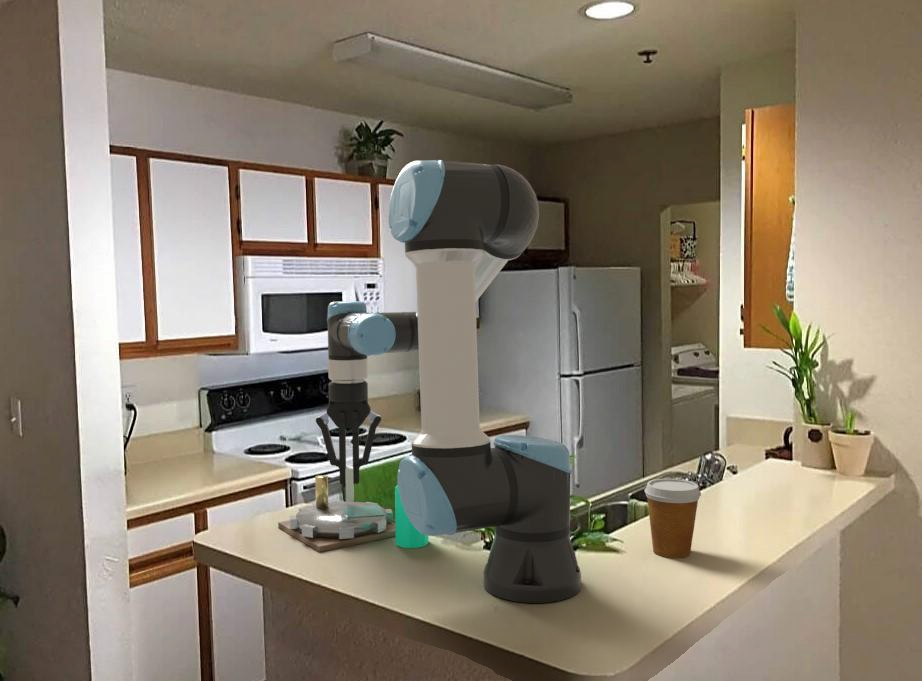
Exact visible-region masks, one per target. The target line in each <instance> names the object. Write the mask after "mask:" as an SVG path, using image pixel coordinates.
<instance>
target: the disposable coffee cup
mask: <svg viewBox="0 0 922 681" xmlns="http://www.w3.org/2000/svg"><path fill="white" fill-rule="evenodd" d="M645 487H646V488H644V493H645V496H646V498H647V506H648V508H647V509H648V515H649V523H650V524H649V527H650V535H651V543H652V551H653V553H654V554H656V555H658V556H660V557H665V558H670V559H680V558H685V557H689V556H690V555H691V551H692V544H693V537H694V531H695V530H694V529H695V522H696V517H697V509H698V503H699V500H700V498H701V496H702V492H701V491H700V489H699V485H698V484H697V483H695V482H693V481H690V480H686V479H679V478H658V479H657V478H656V479H652V480H649V481H648V482H647V484H646V486H645Z"/></svg>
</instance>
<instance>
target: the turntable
mask: <svg viewBox="0 0 922 681" xmlns="http://www.w3.org/2000/svg"><path fill="white" fill-rule="evenodd" d="M328 476H329V475H324V474H323V475H322V474H320V475H315V477H314V478H315V480H314V481H315V504H314V505H306V506H303V507H299V508H298V512H297V513H296V514H295V515H294V514H293V515H289V520H290V529H297V530H298V531H300V532H302V536H307V537H311V538H314V537H316V536H317V537H327V538H339V539H347V538H354V536H360V535H365V534H369V533H373V532H375V533H379V532H381V531H384V530H386V523H387V522H393V521H394V520H393V518H394V517H393V516H394V514H393V513H394V512H393V510H392V509H391V508H384V507H382V506H380V504H379V503H377V502H371V501H366V502H362V501H360V502H359V501H354V502H346V501H344V500H333V501H330V502H329V477H328Z"/></svg>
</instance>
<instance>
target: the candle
mask: <svg viewBox="0 0 922 681" xmlns="http://www.w3.org/2000/svg"><path fill="white" fill-rule="evenodd" d="M394 500H395V501H394V502H395V503H394V506H395V507H394V508H395V509H394V512H395V514H394V516H395V519H394V520H395V521H394V523H395V534H396V536H395V545H396V546H397V547H400V548H405V549H414V548H415V549H417V548H421V547H422V548H423V547H425V546H427V545H428V544H429V536H428V535H424V534H422V533H420V532H419V531H418V530H417V529H416V528H415V527H414V526H413V525H412V524H411V522H410V520H409V519H408V517H407V515H406V513H405V510H404V508H403V505H402V502H401V498H400V494H399V489H398V484H397V485H396V486H395V487H394Z"/></svg>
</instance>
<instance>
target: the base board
mask: <svg viewBox="0 0 922 681" xmlns="http://www.w3.org/2000/svg"><path fill="white" fill-rule="evenodd" d="M277 524H278V528H279V529H280V530H282V531H283V532H285V533H287V534H289V535H290V536H292V537H294V538H295V539H297V540H298V541H300V542H302V543H303V544H306V545H307V546H308V547H310V548H311V549H313V550H315V551H317V552H318V553H321V552H326V551H331V550H335V549H341V548H345V547H350V546H354V545H355V546H356V545H359V544H364V543H369V542H374V541H378V540H379V541H380V540H385V539H388V538H395V537H396V534H395V521H394V522H387V523H386V530H384V531H381V532H379V533H375V532H373V533H369V534H365V535H360V536H354V538H347V539H339V538H327V537H317V536H316V537H314V538H311V537H307V536H302V532H300V531H298V530H297V529H290V519H288V520H284V521H278V523H277Z"/></svg>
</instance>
